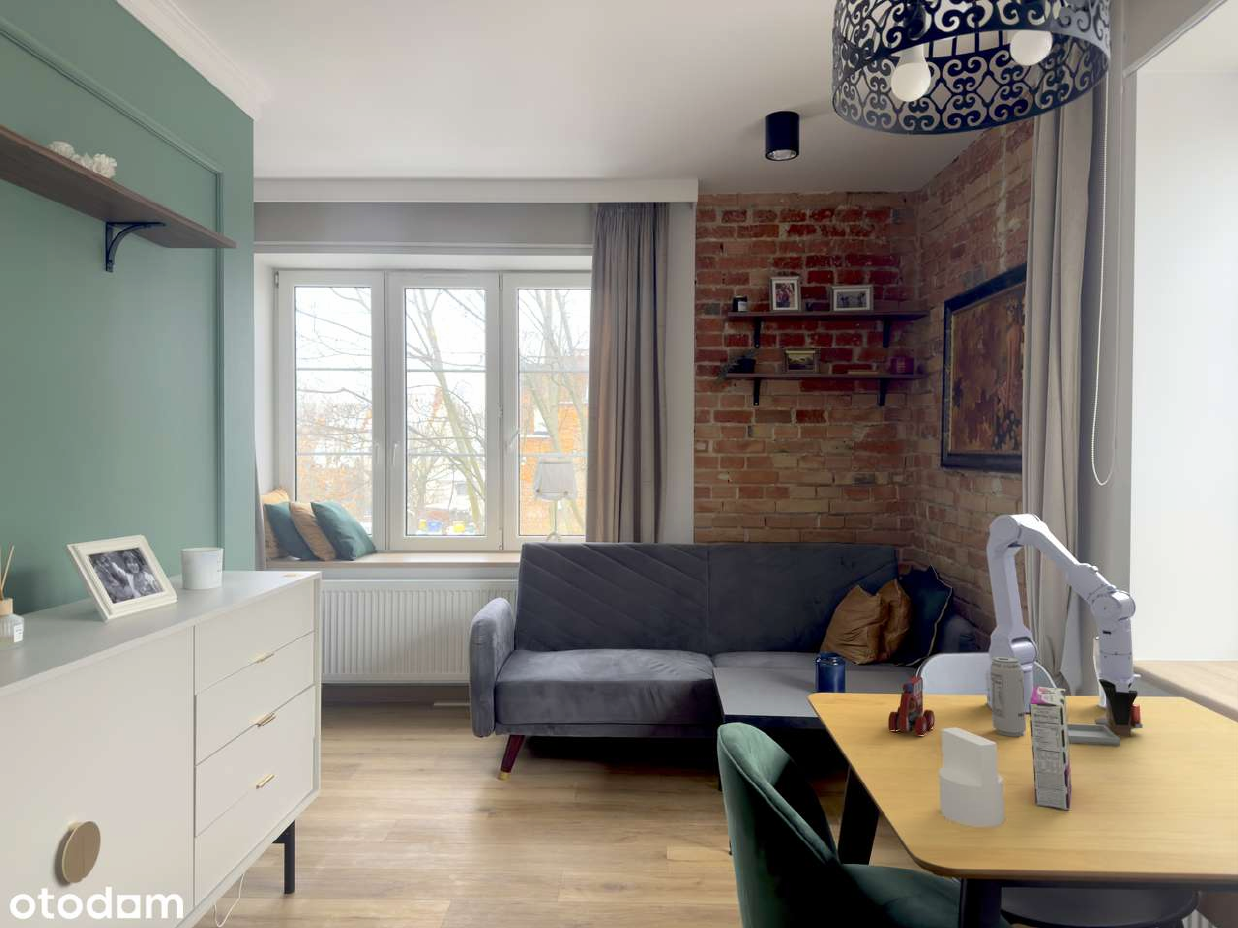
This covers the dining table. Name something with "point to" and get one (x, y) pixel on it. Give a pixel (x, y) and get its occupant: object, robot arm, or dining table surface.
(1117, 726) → the block
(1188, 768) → the dining table surface
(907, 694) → the toy fire truck
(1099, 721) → the crank hub
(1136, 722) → the crank
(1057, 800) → the candy bar box
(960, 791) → the base with upright slab
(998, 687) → the energy drink can
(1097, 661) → the beer glass
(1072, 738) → the tray
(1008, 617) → the robot arm
